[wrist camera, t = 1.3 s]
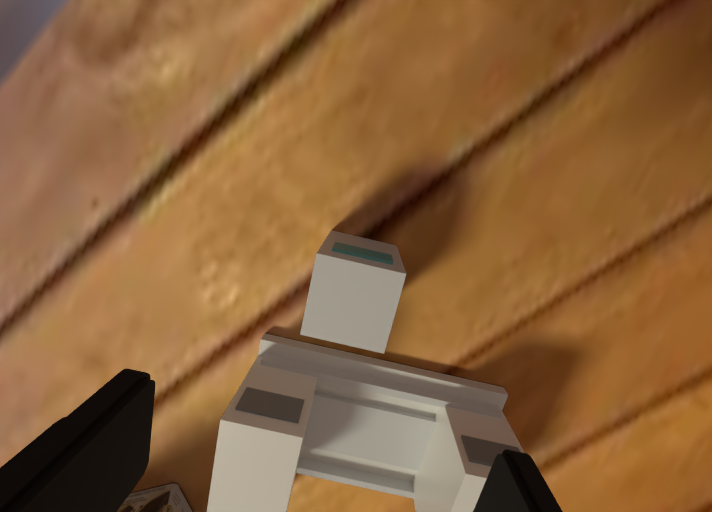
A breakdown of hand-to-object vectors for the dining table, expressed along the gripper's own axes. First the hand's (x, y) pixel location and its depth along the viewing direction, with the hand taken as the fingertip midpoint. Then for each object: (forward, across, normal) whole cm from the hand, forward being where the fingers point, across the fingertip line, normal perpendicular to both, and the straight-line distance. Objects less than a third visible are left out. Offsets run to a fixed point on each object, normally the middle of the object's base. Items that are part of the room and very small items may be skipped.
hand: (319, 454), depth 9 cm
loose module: (+17, -1, 0) cm, 17 cm away
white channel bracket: (+17, -5, +13) cm, 22 cm away
